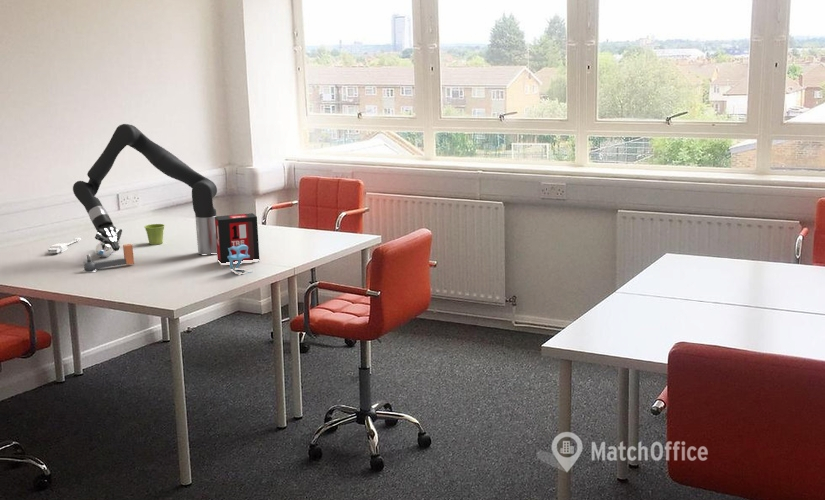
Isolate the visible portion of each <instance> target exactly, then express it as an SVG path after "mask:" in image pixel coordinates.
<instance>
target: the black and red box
mask: <svg viewBox="0 0 825 500" xmlns="http://www.w3.org/2000/svg"><path fill="white" fill-rule="evenodd" d="M215 228H216V242H217V254H216V255H217V261H218V260H219V261H220V262H221V263H226V262H229V259H228V257H227V256H229V254H230V253H229V250H228V248H231V247H232V246H236V247H238V246H239V245H241V244H244V245H246V246H248V251H247V254H248V255H250V257H249V258H244V259H242V261H243V260H253V259H259V260H260V246H259V243H260V242H259V230H258V229H259V228H258V217H257V215H256V214H254V213H253V212H252V213H251V212H250V213H242V214H241V213H239V214H231V215H230V214H229V215H218V216H217V215H216V216H215ZM230 251H231V253H232V255H235V254H237V252H236V251H235V250H233V249H231V250H230ZM245 252H246V250H241V251H240V253H241V254H245ZM245 255H246V254H245ZM235 261H239V260H233V262H235Z"/></svg>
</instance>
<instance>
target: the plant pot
mask: <svg viewBox="0 0 825 500" xmlns="http://www.w3.org/2000/svg"><path fill="white" fill-rule="evenodd" d="M165 226H166V225H165V224H163V223H162V224H161V223H153V224H152V223H151V224H148V225H145V226H143V228H144V229H145V231H146V234H147V235H146V236H147V239H148V244H149V245H151V246H154V245H155V246H157V245H161V244H163V242H164V241H163V240H164V230H165Z"/></svg>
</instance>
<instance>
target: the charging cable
mask: <svg viewBox="0 0 825 500" xmlns="http://www.w3.org/2000/svg"><path fill="white" fill-rule="evenodd" d="M80 240H81V241H82V238H81V237H75V238H73V240H72V241H70V242H68V243H67V242H66V243H65V242H64V243H61V242H60V243H55V244H53V245H50V248H48V249H47V254H63V253H64V252H66V251H68V250H67V249H68V246H69V245H71V244H74V243H75V242H77V243H79V242H81V241H80ZM78 241H79V242H78Z"/></svg>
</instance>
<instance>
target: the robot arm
mask: <svg viewBox="0 0 825 500" xmlns="http://www.w3.org/2000/svg"><path fill="white" fill-rule="evenodd" d="M127 146H129V147H130V148H132V149H134V150H136V151H137V152H139V154H140V153H141V154H142V155H143V156H144V157H145V158H146V160H147V161H148V162H149V163H150V164H151V165H152V166H153V167H154V168H155V169H157V170H159V172H161V173H162V174H164V175H165V176H167V177H169V178H171V179H174V180H176V181H179V182H182V183H184V184H186V185H187V186H188V187H189V188H191V200H192V209H193V211H194V217H195V228H196V229H195V230H196V240H197V241H196V243H197V254H198V253H199V254H211V253H217V242H216V228H215V216H217V210H216V208H215V207H214V203H213V202H214V201H213V199H214V198H215V197H216V195H217V194H218V187H217V185H216V184H215V182H213V181H212V180H211V179H209V178H208V177H206V176H204V175H202V174H200V173H199V172H197V171H195V170H194V169H193V168H191V167H190V166H189V165H188V164H186V163H185V162H183V161H182V160H181V159H179V158H178V157H177V156H175V155H174V154H173V153H172V152H170V151H168V150H167V149H166V148H164V147H163V146H161V145H159V144H158V143H156V142H154V141H153V140H151V139H150V138H149V137H148V136H146V135H145V134H144V133H143V132H142V131H140V130H139V128H137V127H136V126H135V125H133V124H128V123H122V124H119V125H118V126H117V127H116V129H115V130H114V132H113V134H112V136H111V138H110V139H109V141H108V143H107V145H106V147H105V149H103V151H102V152H101V154H100V156H98V158H97V160H96V161H95V162H94V164H93V165H91V167H90V169H89V170H88V171H87V174H86V175H87V177H88V178H89V180H88V182H87V181H83V180H78V181H75V183H74V184H73V186H72V191H73V194H74V196H75V197H76V199H77V200H78V201H79V202H80V203H81V205H82V206H83V207H84V208H85V211H86V212H87V214H88V217H89V219H90V222H91V223H92V224H93V227H94V229H95V230H96V231H97V232H96V234H95V236H94V239H95V240H97V241H99V242H103V243H104V244H110V245H111V247H112V249H113V250H114V252H117V251H119V250H120V249H121V248H120V243H119V244H118V241H119V240H120V239H121V237H122V233H123V229H121V228H120V229H118V228H116V226H114V223H113V221H112V218H111V217H110V215H109V214H108V212H107V210H106V209H105V207H104V206H103V204H102V202H101V200H100V199H99V198H98V197H96V195H97V193H98V191H99V189H100V186H101V184H102V181H103V180H104V179H105V178H106V176H107V175H108V173H109V172H110V171H111V169H112V167H113V166H114V164H115V161H116V159H117V157H118V156H119V154H120V153H121V152H122V151H123V150H124V149H125V148H126V147H127ZM116 235H117V238H116ZM199 254H198V255H199Z"/></svg>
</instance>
